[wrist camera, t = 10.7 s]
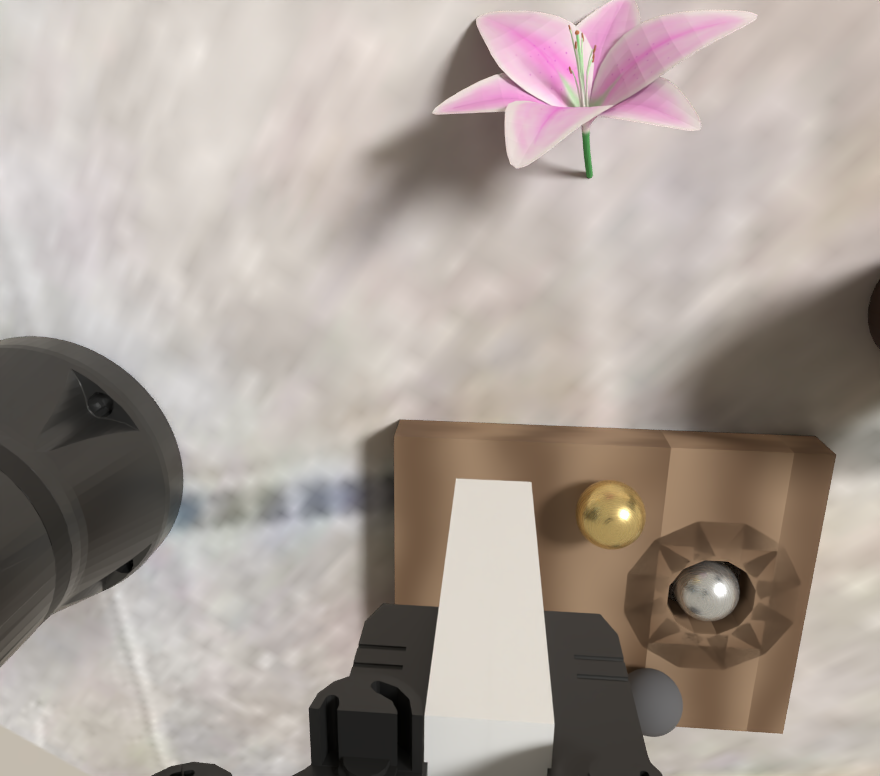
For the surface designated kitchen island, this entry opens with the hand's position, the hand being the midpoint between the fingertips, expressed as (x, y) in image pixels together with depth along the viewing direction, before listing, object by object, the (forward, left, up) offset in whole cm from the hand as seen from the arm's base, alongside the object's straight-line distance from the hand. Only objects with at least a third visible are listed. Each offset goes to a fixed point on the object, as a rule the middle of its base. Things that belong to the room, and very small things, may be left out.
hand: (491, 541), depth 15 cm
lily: (+3, +10, -25) cm, 27 cm away
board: (+6, -15, -24) cm, 29 cm away
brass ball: (+6, -10, -20) cm, 23 cm away
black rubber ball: (+9, -21, -20) cm, 30 cm away
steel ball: (+12, -15, -23) cm, 30 cm away
